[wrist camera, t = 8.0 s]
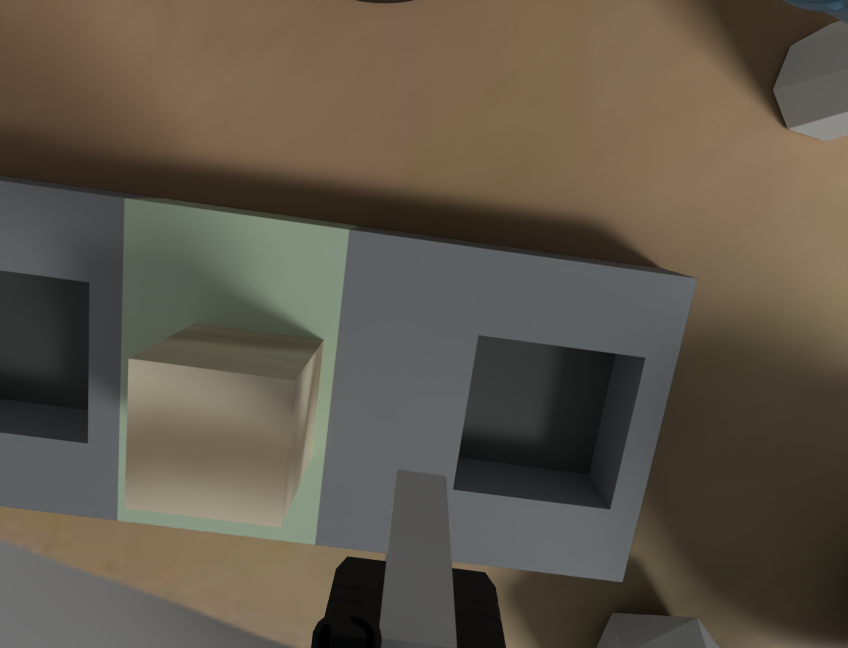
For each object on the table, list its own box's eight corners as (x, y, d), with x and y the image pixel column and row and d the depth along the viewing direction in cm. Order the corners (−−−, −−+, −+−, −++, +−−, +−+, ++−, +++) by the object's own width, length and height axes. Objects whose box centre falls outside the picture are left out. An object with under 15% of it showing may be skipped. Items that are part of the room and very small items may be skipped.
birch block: (195, 322, 26) (128, 358, 20) (323, 340, 26) (295, 380, 20) (188, 441, 27) (124, 508, 21) (311, 457, 27) (280, 527, 22)
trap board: (-54, 167, 28) (-130, 162, 24) (660, 268, 29) (697, 278, 26) (-41, 457, 32) (-106, 493, 28) (598, 536, 33) (622, 582, 29)
